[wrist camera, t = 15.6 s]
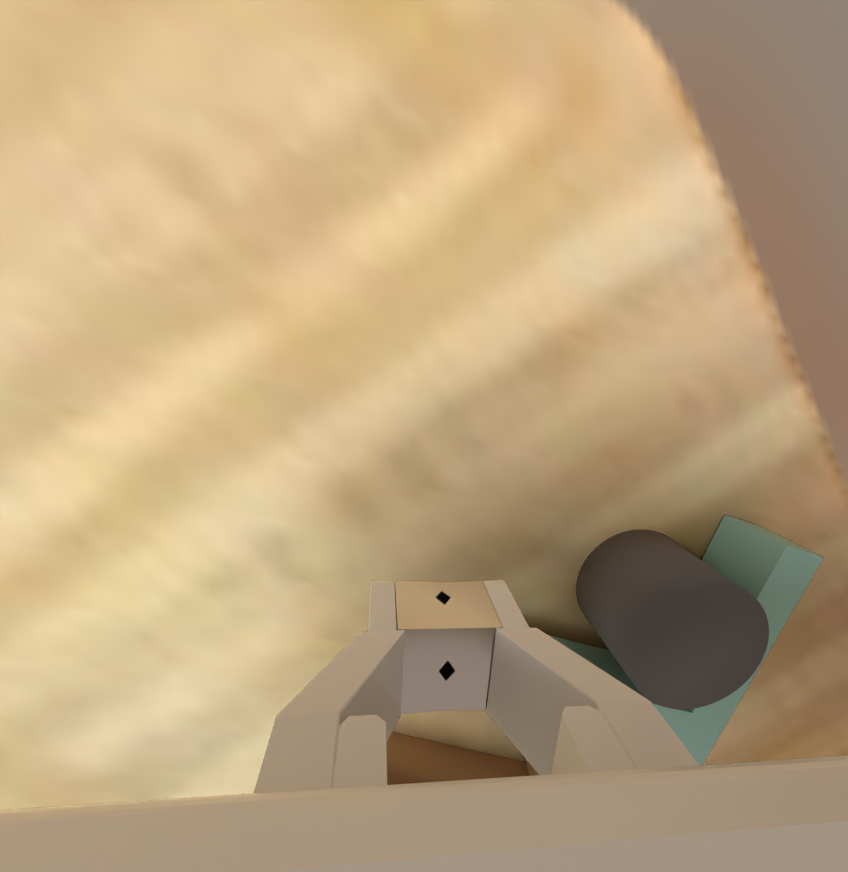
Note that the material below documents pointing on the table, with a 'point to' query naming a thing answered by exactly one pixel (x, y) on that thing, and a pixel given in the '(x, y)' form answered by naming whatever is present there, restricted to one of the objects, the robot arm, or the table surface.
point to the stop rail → (758, 575)
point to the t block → (444, 762)
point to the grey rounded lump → (671, 619)
